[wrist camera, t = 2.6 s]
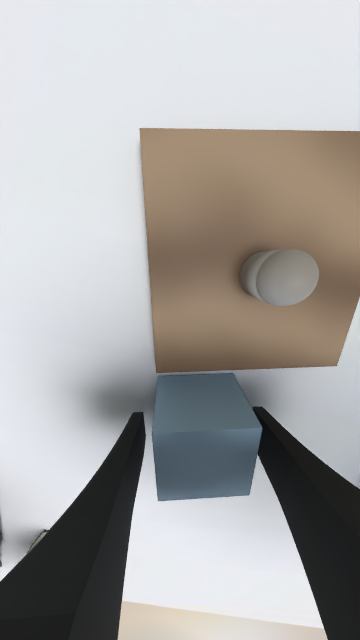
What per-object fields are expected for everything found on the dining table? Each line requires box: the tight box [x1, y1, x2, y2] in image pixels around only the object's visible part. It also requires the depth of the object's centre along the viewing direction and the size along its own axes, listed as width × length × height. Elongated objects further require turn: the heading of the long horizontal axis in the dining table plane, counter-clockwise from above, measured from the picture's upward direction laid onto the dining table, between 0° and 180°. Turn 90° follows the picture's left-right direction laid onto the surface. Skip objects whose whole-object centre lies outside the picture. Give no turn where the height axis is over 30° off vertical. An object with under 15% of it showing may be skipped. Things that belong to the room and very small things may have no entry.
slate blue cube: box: [152, 373, 262, 501], centre depth 10 cm, size 5×5×4 cm
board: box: [140, 128, 360, 373], centre depth 8 cm, size 11×11×4 cm
